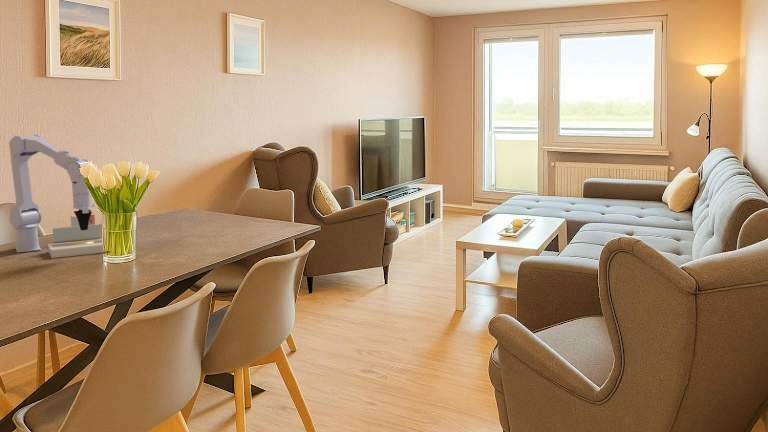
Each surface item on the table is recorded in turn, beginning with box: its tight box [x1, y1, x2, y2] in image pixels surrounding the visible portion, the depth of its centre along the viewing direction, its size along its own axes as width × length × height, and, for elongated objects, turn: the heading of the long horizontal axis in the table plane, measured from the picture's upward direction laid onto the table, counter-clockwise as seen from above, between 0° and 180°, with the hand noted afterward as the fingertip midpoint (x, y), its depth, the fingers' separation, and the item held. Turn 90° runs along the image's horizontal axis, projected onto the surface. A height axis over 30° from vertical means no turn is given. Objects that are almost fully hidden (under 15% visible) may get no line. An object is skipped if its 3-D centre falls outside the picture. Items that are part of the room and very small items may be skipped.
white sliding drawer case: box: [47, 238, 104, 259], centre depth 242 cm, size 20×11×3 cm, turn 123°
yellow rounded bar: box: [68, 241, 94, 246], centre depth 244 cm, size 9×3×3 cm, turn 123°
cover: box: [52, 224, 101, 244], centre depth 245 cm, size 17×6×1 cm
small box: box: [70, 213, 96, 242], centre depth 262 cm, size 8×6×10 cm
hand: (84, 229), depth 234 cm, fingers closed
